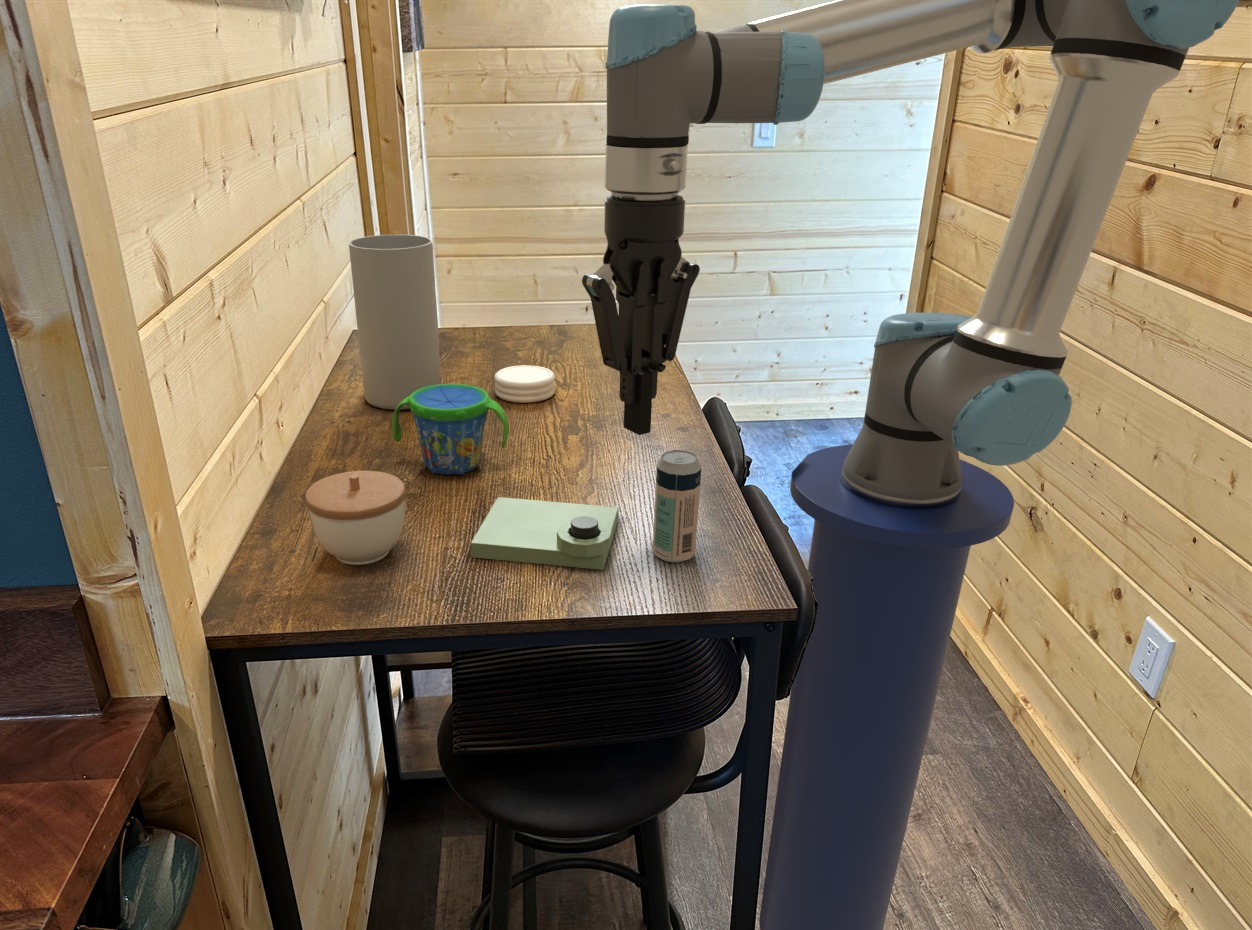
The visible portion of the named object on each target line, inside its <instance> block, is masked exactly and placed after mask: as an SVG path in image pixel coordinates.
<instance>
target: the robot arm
mask: <svg viewBox="0 0 1252 930" xmlns="http://www.w3.org/2000/svg"><path fill="white" fill-rule="evenodd" d="M1239 2H1240V0H834V1H830V2H826V3H822V4H818V5H813V6H810V7H806V8H802V9H799V10H795V11H790V12H785V13H782V14H779V15H775V16H770V17H767V18H762V19H758V20H756V21H752V22H751V21H750V22H749V23H745V24H741V25H736V26H731V27H728V28H724V29H720V30H717V31H713V32H710V31H704V30H697V27H698V26H697V23H696V14H695V11H694V9H693V8H692V7H691V6H689V5H686V4H630V5H624V6H620V7H618V8H616V9H615V10H614V12H613V13H611V17H610V19H609V24H608V26H609V27H608V38H607V53H606V62H605V69H606V144H605V155H604V157H605V163H604V188H605V189H606V191H608V192H610V194H609V195H607V197H606V198H605V199H604V225H603V226H604V229H603V230H604V235H605V237H606V242H607V245H606V249H605V251H604V254H603V258H602V265H601V266H600V267H599V268H598V269H597V270H596V271H595V272H594V273H593V274H590V273H586V274H584V275H583V276H582V279H581V284H582V286H583V288H584V289H585V291H586V293H587V295H588V296H589V298H590V303H591V307H592V312H593V318H594V323H595V327H596V333H597V337H598V343H599V349H600V354H601V360H602V363H603V365H604V366H606V367H608V368H609V369H610V368H611V369H613V370H614V371H618V372H619V394H618V395H619V400H620V401H621V402H623V404H624V405H623V428H624V429H626V430H628V431H630V432H632V433H634V434H636V435H638V436H642V435H646V434H650V433H651V430H652V408H653V407H652V406H653V405H652V404H653V400H654V399H656V396H657V394H658V376H659V375H658V373H663V372H664V371H665V370H666V368H667V365H666V364H664V363H665V362H667V361H668V362H672V361H673V360H674V359H675V357H676V355H677V354H676V353H677V351H678V350H677V349H678V345H679V341H680V336H681V333H682V328H683V324H684V319H685V316H686V311H687V306H688V304H689V303H688V302H689V298H690V295H691V294H690V293H691V289H692V287H693V285H694V283H695V282H696V280H697V278H698V276H699V274H700V271H701V268H700V265H698V264H697V263H693V262H690V261H688V260H686V259H685V257H683V256H682V252H683V251H682V248H681V245H680V240H679V239H680V238H681V237H682V236H683V235H684V232H685V231H684V230H685V215H686V213H685V212H686V200H685V199H684V197H683V196H681V195H680V193H681V192H683V191H684V190H685V189H686V188H687V187H686V186H687V173H688V172H687V171H688V170H687V168H688V154H689V153H688V152H689V151H688V150H689V142H690V136H689V135H690V134H689V132H690V126H691V125H692V124H693V125H694V124H695V125H706V124H773V125H775V126H778V125H779V124H781V123H797V122H802V121H804V120H806V119H808V118H809V117H810V116H811V115H812V113H813V112H814V111H815V109H816V108H817V106H818V104H819V101H820V99H821V96H822V92H823V88H824V85H827V84H830V83H831V84H832V83H835V82H838V81H842V80H843V81H844V80H847V79H851V78H854V77H858V76H862V75H865V74H869V73H873V72H878V71H881V70H885V69H889V68H894V67H897V66H902V65H905V64H909V63H912V62H917V61H920V60H925V59H929V58H932V57H937V56H941V55H943V54H944V55H945V54H947V53H952V52H956V51H959V50H964V49H967V48H969V49H971V50H972V51H974V52H975V53H977V54H988V53H992V52H995V51H999V50H1003V49H1011V48H1023V47H1052V48H1051V51H1050V54H1049V56H1048V60H1049V62H1050V64H1051V66H1052V68H1053V70H1054V72H1055V74H1056V76H1057V82H1056V86H1055V89H1054V92H1053V95H1052V98H1051V101H1050V103H1049V106H1048V109H1047V112H1046V115H1045V118H1044V120H1043V123H1042V126H1041V128H1040V132H1039V135H1038V138H1037V140H1036V143H1035V147H1034V148H1033V152H1032V154H1031V158H1030V160H1029V163H1028V166H1027V169H1026V172H1025V175H1024V178H1023V181H1022V184H1021V186H1020V190H1019V193H1018V195H1017V198H1016V201H1015V204H1014V207H1013V208H1012V209H1013V210H1012V213H1011V215H1010V218H1009V221H1008V224H1007V226H1006V230H1005V233H1004V235H1003V238H1002V241H1001V244H1000V247H999V250H998V253H997V254H996V258H995V260H994V264H993V267H992V270H991V272H990V275H989V278H988V281H987V284H986V286H985V290H984V293H983V295H982V298H981V301H980V304H979V307H978V308H977V309H978V310H977V312H976V313H975V315H974V316H970V315H964V314H959V313H958V314H957V313H949V312H948V313H947V312H908V313H907V312H906V313H905V312H904V313H898V314H893V315H890V316H888V317H886V318H884V319H883V320H882V321H881V322H880V324H879V328H878V331H877V336H876V338H875V342H874V344H873V348H874V352H873V357H872V358H873V359H872V364H871V372H870V378H869V384H868V385H869V386H868V392H867V399H866V403H865V404H866V405H865V412H864V417H863V424H862V426H861V429H860V431H859V432H858V435H857V436H856V438H855V440H854V441H853V443H852V444H853V445H852V447H851V449H850V451H849V453H848V455H847V457H846V459H845V461H844V464H843V467H842V474H841V480H842V482H843V484H844V485H845V486H846V487H847V488H848V489H849V490H850V491H852V492H853V493H855V494H856V495H858V496H860V497H862V498H865V499H867V500H870V501H873V502H876V503H880V504H884V505H888V506H893V507H900V508H910V509H927V508H936V507H941V506H945V505H948V504H950V503H952V502H954V501H955V500H957V498H958V497H959V495H960V491H961V486H962V473H961V466H960V460H961V459H960V454H963V455H965V456H967V457H970V458H973V459H975V460H976V461H979V462H981V463H983V464H986V465H988V466H989V465H990V466H996V467H997V466H999V467H1001V466H1004V467H1005V466H1011V465H1015V464H1018V463H1022V462H1025V461H1027V460H1029V459H1030V458H1031V457H1033V456H1034V455H1035V454H1036V453H1037V454H1038V453H1041V452H1042V451H1044V450H1045V449H1046V448H1047V447H1048V446H1050V445H1051V444H1052V443H1053V442H1054V441H1055V440H1056V439H1057V437H1058V436H1059V434H1061V432H1062V431H1063V429H1064V427H1065V426H1066V424H1067V422H1068V419H1069V417H1070V413H1071V410H1072V404H1073V403H1072V402H1073V401H1072V399H1073V398H1072V395H1071V394H1070V387H1069V386H1068V384H1067V383H1066V381H1065V380H1064V379H1063V377H1062V376H1060V374H1061V372H1062V369H1063V366H1064V364H1065V361H1066V359H1067V356H1068V352H1069V351H1068V348H1067V346H1066V345H1065V343H1064V341H1063V340H1062V338H1061V334H1060V333H1061V330H1062V327H1063V326H1064V323H1065V321H1066V320H1065V319H1066V317H1067V316H1068V315H1067V314H1068V312H1069V309H1070V307H1071V304H1072V303H1073V300H1074V296H1075V294H1076V291H1077V289H1078V286H1079V284H1080V281H1081V279H1082V276H1083V274H1084V270H1085V268H1086V266H1087V263H1088V261H1089V257H1090V255H1091V254H1092V250H1093V248H1094V246H1095V243H1096V240H1097V237H1098V235H1099V232H1100V229H1101V228H1102V225H1103V222H1104V220H1105V216H1106V214H1107V212H1108V209H1109V207H1110V204H1111V202H1112V199H1113V197H1114V194H1115V191H1116V189H1117V186H1118V183H1119V181H1120V179H1121V176H1122V174H1123V171H1124V168H1125V165H1126V163H1127V160H1128V158H1129V155H1130V153H1131V150H1132V148H1133V145H1134V142H1135V140H1136V137H1137V134H1138V132H1139V130H1140V128H1141V125H1142V122H1143V120H1144V118H1145V115H1146V112H1147V109H1148V107H1149V104H1150V101H1151V99H1152V96H1153V94H1154V93H1155V92H1156V91H1157V90H1159V89H1160V88H1162V87H1163V86H1165V85H1166V84H1168V83H1169V82H1171V81H1173V80H1175V79H1176V78H1177V77H1178V76H1179V74H1180V73H1181V69H1182V67H1183V64H1184V62H1185V60H1186V58H1187V55H1188V52H1189V49H1190V48H1193V47H1195V46H1197V45H1199V44H1201V43H1204V41H1207V40H1209V39H1210V38H1211V37H1212V36H1213V35H1214V34H1215V31H1217V30H1220V29H1221V28H1223V27H1224V25H1225V24H1226V23H1228V21H1229V19H1231V17H1232V15H1233V13H1234V12H1235V10H1236V8H1237V6H1238V4H1239ZM614 290H615V294H614V292H613V291H614ZM617 304H618V306H617Z"/></svg>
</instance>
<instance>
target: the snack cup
mask: <svg viewBox="0 0 1252 930" xmlns="http://www.w3.org/2000/svg"><path fill="white" fill-rule="evenodd" d="M403 405H408V406H409V407H410V409H409V410H410V411H411V413H412V415H413V420H414V425H415V430H416V432H417V433H416V434H417V438H418V442H419V447H420V452H421V455H422V460H423V462H424V465H425V467H426V468H427V469H428V470H429V471H431V472H432V473H433V474H436V475H437V474H439V475H452V474H454V475H460V476H462V475H464V474H465V473H468V472H472V470H474V469H476V468H477V467H479V465H480V461H481V456H482V448H483V440H484V433H485V426H486V422H487V417H488V414H489V410H491V411H493V412H494V413H495V415H496V416H497V418H498V419H499V421H500V423H501V424H502V425H503V433H502V443H501V448H503V449H505V446H506V444H507V443H508V442H507V441H508V438H509V433H510V427H509V426H510V425H509V421H508V417H507V414H506V412H505V410H504V409H503V407H502V406H501V405H500V404H499V403H498V402H497V401H495V400H494V399H492V398H491V397H490V396H489V393H488V392H487V391H486V390H485V389H483V388H481V387H478V386H474V385H470V384H465V383H463V384H462V383H441V384H439V385H432V386H427V387H423V388H421V389H418V390H416V391H414V392H413V393H412V394H411V395H410V396H408V397H406V398H405V399H404V400H402V401H401V402H400V403H399V405H398V406H397V408H396V409H395V410H394V412H393V415H392V421H391V428H392V435H393V436H392V437H393V438H394V440H395V442H397V443H399V442H401V441H402V438H403V431H402V426H401V422H400V418H399V417H400V413H401V410H400V409H401V407H402V406H403Z"/></svg>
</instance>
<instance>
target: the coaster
mask: <svg viewBox="0 0 1252 930" xmlns="http://www.w3.org/2000/svg"><path fill="white" fill-rule="evenodd" d="M493 378H494V393H495V395H496V396H497V397H498V398H499V399H501V400H503V401H507V402H510V403H519V404H521V403H522V404H527V403H528V404H529V403H538V402H543V401H545V400H548V399H550V398H552V397H553V396H554V395H555V393H556V388H555V386H556V381H555V379H556V374H555V372H553V371H552V370H551V369H549V368H547V367H544V366H539V365H530V364H526V365H525V364H523V365H511V366H507V367H503V368H501V369H499V370H498V371H496V372H495V374H494V377H493Z"/></svg>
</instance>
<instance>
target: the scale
mask: <svg viewBox="0 0 1252 930" xmlns="http://www.w3.org/2000/svg"><path fill="white" fill-rule="evenodd" d="M619 510H620V509H619V507H618V506H607V505H597V504H586V503H585V504H584V503H575V502H574V503H573V502H561V501H550V500H537V499H525V498H514V497H500V496H497V497H496V499H495V500H494V503H493V504H492V506H491V508H490V510H489V511H488V513H487V514H486V516H485V518H484V520H483V521H482V523H481V524H480V526H479V528H478V530H477V531H476V533H475V534H474V537H473V538H472V540H471V542H470V556H471V558H473V559H485V560H494V561H495V560H496V561H506V562H508V561H509V562H516V563H517V562H518V563H527V564H536V565H537V564H538V565H547V566H559V567H567V568H568V567H569V568H579V569H589V570H598V571H599V570H601V571H604V569H605V567H606V562H607V559H608V556H609V553H610V549H611V546H612V542H613V541H614V540H613V539H614V536H615V534H616V529H617V526H618V523H619ZM581 516H588V517H592V518H595V519H596V520H597V521H598V536H597V537H596V538H593V539H587V540H584V539H576V538H574V537H572V536H571V521H572V520H573V519H574V518H576V517H581Z"/></svg>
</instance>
